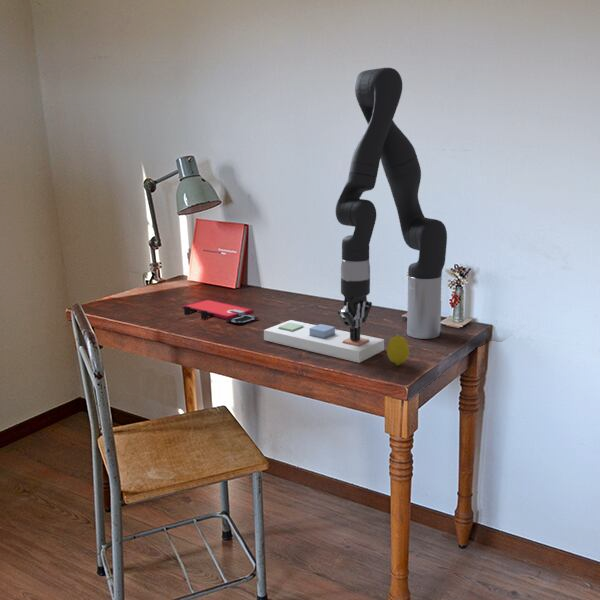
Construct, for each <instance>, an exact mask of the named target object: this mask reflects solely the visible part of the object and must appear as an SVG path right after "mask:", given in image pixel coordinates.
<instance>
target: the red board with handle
mask: <svg viewBox="0 0 600 600" xmlns="http://www.w3.org/2000/svg"><path fill="white" fill-rule="evenodd" d="M182 307H183V308H182ZM181 308H182V309H183V311H184V313H183V314H184V315H187V314H189V315H191V313H196V312H195V311H199V312H201V313H200V316H201V319H202V318H204V319H203V320H207V319H206V318H209V317H214V316H215V318H218V317H219V319H223V320H226V321H227V322H231V323H236V324H242V323H246V322H250V321H253V320H256V319H259V317H258V316H254V315H250V314H253V313H252V312H254V309H252V308H247V307H243V306H239V305H235V304H230V303H225V302H221V301H216V300H211V299H204V300H201V301H200V300H199V301H196V302H192V303H187V304H183V305H181ZM249 313H250V314H249Z"/></svg>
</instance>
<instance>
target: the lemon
mask: <svg viewBox="0 0 600 600" xmlns="http://www.w3.org/2000/svg"><path fill="white" fill-rule="evenodd" d="M386 353H387V354H386V355H387V357H388V359H389V361H390V362H391V363H393V364H395V365H396V366H397V367H398V366H400V365H401V364H403V363H404V362H406V361H407V360H408V358H409V356H410V345H409V342H408V340H407V339H406V338H405V337H403V336H401V335H399V334H397V335H395V336H392V337H391V338H390V340H389V341H388V343H387V346H386Z"/></svg>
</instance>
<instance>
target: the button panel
mask: <svg viewBox="0 0 600 600" xmlns="http://www.w3.org/2000/svg"><path fill="white" fill-rule="evenodd" d="M287 323H295V324H299V325H303V328H301V329H299V330H296V331H294V332H290V331H286V330H281V329H279V326H282V325H284V324H287ZM317 325H318V324H311V323H306V322H303V321H298V320H294V319H293V320H292V319H290V320H287V321H285V322H284V321H283V322H281V323H279V324H276V325H274V326H271V327H268V328H266V329H264V330H263V340H264V341H266V342H271V343H275V344H279V345H283V346H286V347H291V348H295V349H300V350H303V351H308V352H312V353H316V354H320V355H325V356H329V357H333V358H337V359H342V360H347V361H351V362H354V363H358V364H359V363H362V362H364V361H365V360H368V359H370V358H371V357H373V356H375V355H377V354H379V353H382V352H383V351H385V339H384V338H379V337H375V336H370V335H365V334H364V335H363V334H360V338H365V339H369V342H368V343H366V344H363V345H361V346H359V347H358V346H353V345H349V344H344V343H343V340H346V339H348V338H350V331H345V330H341V329H336V328H335V335H333V336H331V337H328V338H326V339H322V338H317V337H313V336H310V331H309V328H312V327H314V326H317Z"/></svg>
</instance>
